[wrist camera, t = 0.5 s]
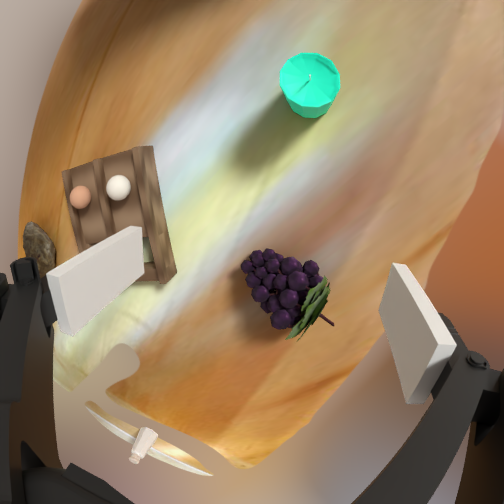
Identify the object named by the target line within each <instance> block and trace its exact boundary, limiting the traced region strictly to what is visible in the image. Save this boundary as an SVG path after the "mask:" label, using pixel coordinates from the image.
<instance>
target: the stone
mask: <svg viewBox="0 0 504 504" xmlns="http://www.w3.org/2000/svg"><path fill="white" fill-rule="evenodd" d="M23 248H24V250H25V254H26V257H33V258H36V259H37V264H38V269H39V274H40V278H42V277H43V276H45V275H46V273H48V272H49V271H51V270H53V269H54V268H55V247H54V244H53V242H52V240H51V239H50V238H49V237H48V235H47V233H46V232H45V231H44V230H43V229H41V228H40V227H39V226H38V224H35V223H33V222H32V221H31V222H28V223H27V225H26V226H25V230H24V234H23Z"/></svg>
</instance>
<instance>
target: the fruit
mask: <svg viewBox="0 0 504 504" xmlns="http://www.w3.org/2000/svg"><path fill="white" fill-rule="evenodd" d="M249 258H250V259H251V261H247V260H244V262H243V263H242V264H241V269H242V271H243V272H244V273H245V274H248V275H247V277H246V279H245V280H246V282H247V285H248V287H250V288H253V290H252V294H251V295H252V297H253V299H254V300H255V301H256V302H261V308H262V309H263V310H264V311H265V312H266V313H271V312H273V314H272V315H271V317H270V319H271V324H272V327H274V328H276V329H286V328H287V327H288V328H292V331H291V332H290V334H289V336H288V337H287V338H286V339H289V338H291V337H292V338H293V337H294V336H297V335H298V334H300V332H301V331H302V330H303V329H305V328H306V326H307V325H308V326H307V328H306V329H305V331H304V333H305V332H306V330H307V329H308V328H309V326H310V325H311V324H312V325H313V323H314V322H315V320H316V319H317V318H318V316H319V317H321V318H322V319H324V320H325V321H327V322H328V323H329V324H331V325H332V326H333V327H334V323H333V322H331V321H330V320H329V319H327V318H326V317H325V316H324V315H322V314H321V312H322V310H323V308H324V307H325V304H326V303H327V302H328V300H326V299H327V297H328V294H329V293H330V291H331V290H330V289H329V284H328V286H327V287H325V285H326V284H327V282H328V281H327V280H328V279H327V278H326V277H325V276H324V278H323V277H321V276H319V274H318V271H319V267H318V265H317V263H316V262H314V261H312V260H310V261H306V262H305V263H304V265H303V267H302V265H301V263H300V262H299V261H298V260H296V259H295V258H294V257H287V258H283V256H282V255H280V254H277V253H275V252H274V251H273V250H272V249H267V248H266V249H265V251H264V252H263V253H262V252H261V251H260V250H257V251H253V252H252V254H251V255H250V257H249ZM302 271H303V273H302ZM267 272H268V273H267ZM326 279H327V280H326ZM326 281H327V282H326ZM309 288H310V289H309ZM307 289H308V290H307ZM275 290H276V291H275ZM329 290H330V291H329ZM301 323H302V324H301ZM312 325H311V326H312ZM304 333H303V334H304ZM303 334H302V336H303ZM302 336H301V337H302ZM301 337H300V338H301ZM300 338H299V339H300ZM286 339H285V340H286ZM299 339H298V340H299Z"/></svg>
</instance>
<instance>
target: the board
mask: <svg viewBox="0 0 504 504" xmlns="http://www.w3.org/2000/svg"><path fill="white" fill-rule="evenodd" d="M116 175H122V176H125V177H126V178H127V179H128V180H129V182H130V184H131V190H130V193H129V195H128V196H127V197H126V198H125V199H123V200H113V199H112V198H110V197H109V196H108V194H107V191H106V186H107V183H108V181H109V180H110V179H111V178H112V177H113V176H116ZM62 177H63V183H64V188H65V193H66V198H67V203H68V208H69V213H70V217H71V221H72V225H73V230H74V234H75V237H76V241H77V245H78V249H79V252H80V253H82V252H83V251H85V250H87V249H89V248H90V247H92V246H94V245H96V244H98V243H99V242H101V241H103V240H105V239H107V238H108V237H110V236H112V235H114V234H116V233H118V232H120V231H121V230H123V229H125V228H127V227H129V226H137V227H142V237H149V241H150V245H151V249H152V254H153V258H154V262H146V263H144V274H143V275H142V276H140V277H139V278H138V279H137V280H136V281H160V284H166V283H167V282H168V281H169V280H170V279H171V278H172V277H173V276H174V275H175V274H176V273H177V269H176V265H175V261H174V256H173V252H172V248H171V243H170V238H169V234H168V229H167V224H166V219H165V214H164V209H163V204H162V198H161V193H160V188H159V182H158V176H157V170H156V164H155V158H154V152H153V146H138V147H134V148H132V149H131V150H127V151H124V152H120V153H117V154H114V155H111V156H107V157H104V158H100V159H95V160H93V161H92V162H89V163H86V164H83V165H80V166H78V167H75V168H72V169H68V170H64V171H62ZM77 186H85V187H87V188H88V189H89V191H90V193H91V201H90V203H89V204H88V205H87V206H86V207H85V208H82V209H77V208H75V207H74V206H73V205H72V204H71V202H70V193H71V191H72V190H73V189H74V188H75V187H77Z"/></svg>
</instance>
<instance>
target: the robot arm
mask: <svg viewBox="0 0 504 504" xmlns="http://www.w3.org/2000/svg"><path fill="white" fill-rule="evenodd" d="M10 267H11V272H12V276H13V280H14V284H8V282H7V278H6V275H5V274H4V273H0V504H134V503H133V502H131V501H130V500H128V499H127V498H126V497H125V496H123V495H122V494H120V493H119V492H118V491H116V490H115V489H114V488H113V487H111V486H110V485H109V484H108V483H107V482H105V481H104V480H102V479H100V478H98V477H96V476H94V475H93V474H91V473H89V472H87V471H85V470H83V469H81V468H80V467H78V466H76V465H74V464H73V463H70V465H69V466H68V467H67V469H63V467H62V464H61V462H60V460H59V456H58V450H57V441H56V432H55V420H54V404H53V345H54V328H53V325H52V324H53V323H54V322H55V321H56V320H57V321H58V324H59V328H60V331H61V332H63V333H65V334H68V335H70V336H72V337H73V336H74V335H75V334H76V333H77V332H78V331H79V330H81V329H82V328H83V327H84V326H85V325H86V324H87V323H88V322H89V321H90V320H91V319H93V318H94V317H95V316H96V315H97V314H98V313H99V312H100V311H101V310H103V309H104V308H105V307H106V306H107V305H108V304H109V303H110V302H112V301H113V300H114V299H115V298H116V297H117V296H118V295H120V294H121V293H122V292H123V291H124V290H125V289H126V288H128V287H129V286H130V285H131V284H132V283H133V282H135V281H136V280H137V279H138V278H139V277H140V276H142V275H143V274H144V260H143V241H142V227H137V226H129V227H127V228H125V229H123V230H121V231H120V232H118V233H116V234H114V235H112V236H110V237H108V238H107V239H105V240H103V241H101V242H99V243H98V244H96V245H94V246H92V247H90V248H89V249H87V250H85V251H83V252H82V253H80V254H78V255H76V256H75V257H73V258H71V259H70V260H68V261H66V262H64V263H63V264H61V265H59V266H58V267H56V268H54V269H53V270H51V271H49V272H48V273H46V275H45V276H43V277H42V278H40V274H39V269H38V264H37V259H36V258H33V257H25V258H20V259H18V260H16V261H14V262H13V263H12V264H11V265H10ZM378 311H379V313H380V316H381V319H382V322H383V325H384V328H385V332H386V334H387V338H388V341H389V344H390V347H391V350H392V354H393V357H394V361H395V364H396V368H397V371H398V375H399V378H400V382H401V386H402V389H403V393H404V397H405V401H406V404H424V403H425V401H426V399H427V398H428V396H429V395H430V393H432V396H433V399H434V400H433V402H432V404H431V405H430V407H429V408H428V410H427V411H426V413H425V414H424V416H423V417H422V418H421V421H420V422H419V423H418V425H417V426H416V428H415V429H414V431H413V432H412V433H411V435H410V436H409V437H408V439H407V440H406V442H405V443H404V444H403V446H402V447H401V448H400V449H399V451H398V452H397V453H396V454H395V456H394V457H393V458H392V460H391V461H390V462H389V463H388V464H387V465H386V467H385V468H384V469H383V470H382V471H381V472H380V474H379V475H378V476H377V477H376V478H375V479H374V480H373V481H372V483H371V484H370V485H369V486H368V487H367V488H366V489H365V490H364V491H363V492H362V493H361V494H360V495H359V497H357V498H356V499H355V500H354V501H353V502H352V503H351V504H427V503H428V501H429V500H430V498H431V497H432V495H433V494H434V492H435V490H436V489H437V487H438V486H439V484H440V482H441V481H442V479H443V477H444V475H445V473H446V472H447V470H448V468H449V466H450V465H451V463H452V461H453V459H454V457H455V455H456V452H457V451H458V449H459V447H460V445H461V443H462V441H463V439H464V436H465V434H466V432H467V430H468V427H469V425H470V423H471V426H470V433H469V440H468V447H467V452H466V458H465V464H464V468H463V473H462V477H461V482H460V486H459V490H458V493H457V497H456V501H455V504H504V369H503V371H502V372H501V371H497V370H493V369H490V368H489V367H490V365H489V363H488V361H487V360H486V359H485V358H484V357H483V356H482V355H480V354H479V353H477V352H474V351H468V349H467V347H466V346H465V344H464V342H463V341H462V339H461V337H460V336H459V335H458V332H457V331H456V329H454V326H453V324H452V323H451V321H450V320H449V319H448V318H447V317H446V316H444V315H443V314H442V313H437V311H436V309H435V308H434V306H433V305H432V303H431V301H430V300H429V298H428V297H427V296H426V294H425V292H424V291H423V289H422V288H421V286H420V285H419V283H418V282H417V280H416V279H415V277H414V276H413V274H412V273H411V272H410V270H409V269H408V267H407V266H406V265H404V264H398V263H392V265H391V269H390V273H389V277H388V280H387V284H386V287H385V291H384V294H383V297H382V301H381V304H380V307H379V310H378Z"/></svg>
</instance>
